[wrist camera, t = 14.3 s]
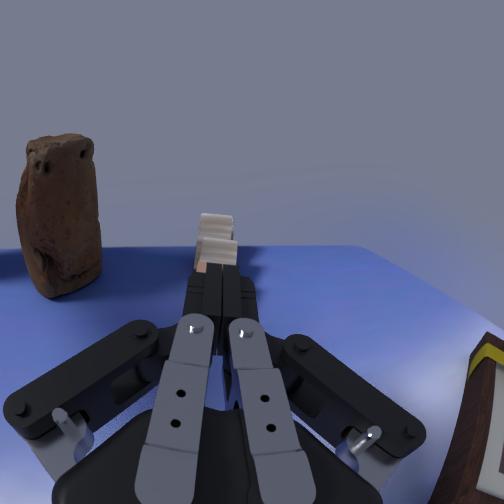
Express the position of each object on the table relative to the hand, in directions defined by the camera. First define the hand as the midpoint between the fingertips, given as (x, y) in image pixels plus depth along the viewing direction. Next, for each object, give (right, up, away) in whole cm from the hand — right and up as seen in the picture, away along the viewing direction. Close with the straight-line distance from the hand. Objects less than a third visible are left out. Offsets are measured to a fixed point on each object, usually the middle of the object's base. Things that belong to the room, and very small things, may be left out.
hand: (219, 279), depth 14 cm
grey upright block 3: (-4, -2, +29) cm, 29 cm away
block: (-25, -3, +22) cm, 33 cm away
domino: (-3, -5, +24) cm, 24 cm away
